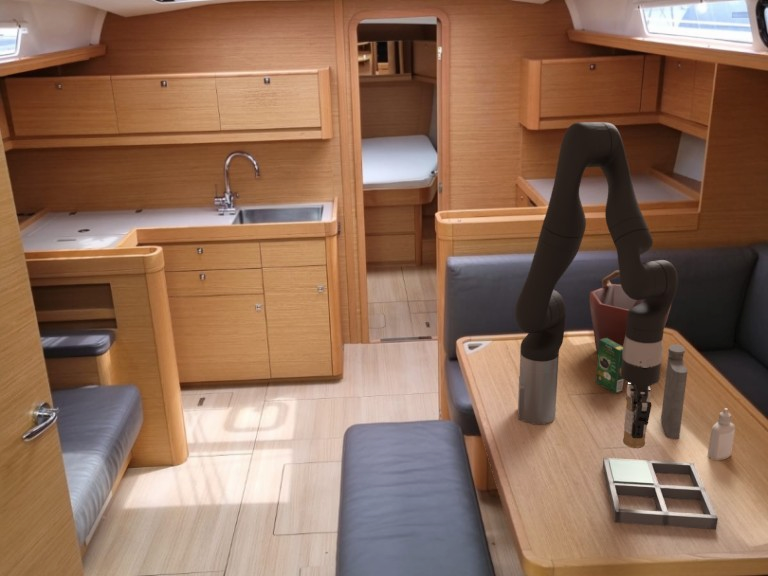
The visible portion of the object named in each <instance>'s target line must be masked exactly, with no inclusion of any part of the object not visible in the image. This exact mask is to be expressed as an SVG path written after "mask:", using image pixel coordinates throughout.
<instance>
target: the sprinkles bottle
mask: <svg viewBox="0 0 768 576" xmlns="http://www.w3.org/2000/svg"><path fill="white" fill-rule="evenodd" d="M630 389H634V387H633V385H628V386H627V385H626V397H627V400H626V406H625V413H624V414H625V415H624V423H623V424H624V427H623V429H624V431H623V439H622V443H623V445H624V446H626V447H628V448H632V449H640V448H641V449H642V448H643V447H644V446H645V445H646V433H647V429H648V428H647V427H648V425H644V431H643V437H642V438H632V435H631V432H632V418H633V411H632V410H631V409H630V399H631V397H630ZM648 389H650V391H651V392H652V390H651V389H652V388H651V387H650V386H649V387H648ZM634 398H635V395H634ZM634 407H637V406H636V405H635V404H634Z"/></svg>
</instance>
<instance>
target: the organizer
mask: <svg viewBox="0 0 768 576" xmlns="http://www.w3.org/2000/svg"><path fill="white" fill-rule="evenodd" d="M602 459H603V460H602V471H603V474H604V475H603V476H604V481H605V484H606V489H607V494H608V497H609V501H610V506H611V511H612V516H613V521H614V523H621V524H624V523H625V524H637V525H650V526H651V525H653V526H664V527H665V526H667V527H681V528H694V529H695V528H696V529H709V530H716V529H717V527H718V526H717V525H718V519H719V518H718V516H717V512H716V511H715V509H714V507H713V504H712V502H711V499H710V497H709V495H708V492H707V490H706V488H705V486H704V484H703V480H702V478H701V476H700V475H699V474H700V473H699V471H698V470H697V467H696V465H695V462H686V461H684V462H683V461H666V460H650V459H648V460H647V459H633V458H631V459H629V458H616V457H615V458H613V457H603V458H602ZM656 474H664V475H665V474H667V475H681V476H683V475H685V476H689V479H690V482H691V484H692V486H685V485H684V486H683V485H671V484H670V485H669V484H659V481H658V478H657V476H656ZM618 496H627V497H640V498H642V497H643V498H653V501H654V503H655V506H656V510H644V509H629V508H627V509H626V508H621V506H620V502H619V498H618ZM665 499H671V500H672V499H673V500H686V501H687V500H688V501H689V500H691V501H699V504H700V507H701V509H702V510H703V513H692V512H691V513H690V512H689V513H687V512H673V511H668V509H667V508H668V507H667V505H666V502H665Z"/></svg>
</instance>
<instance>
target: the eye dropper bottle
mask: <svg viewBox="0 0 768 576" xmlns="http://www.w3.org/2000/svg"><path fill="white" fill-rule="evenodd" d="M718 414H719V415H718V419H717V422H715V423H714V424H713V426H712V427H711V431H710V436H709V443H708V450H707V457H709V458H710V459H712V460H714V461H723V460H725V459H728V458H729V457H730V456H731V455H732V452H733V446H734V439H735V430H736V426H735V425H736V424H734V423H733V422H732V421H731V420H732V414H731V413H730V412H729V409H728V408H727V407H724V408H723V411H721V412H719V413H718Z"/></svg>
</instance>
